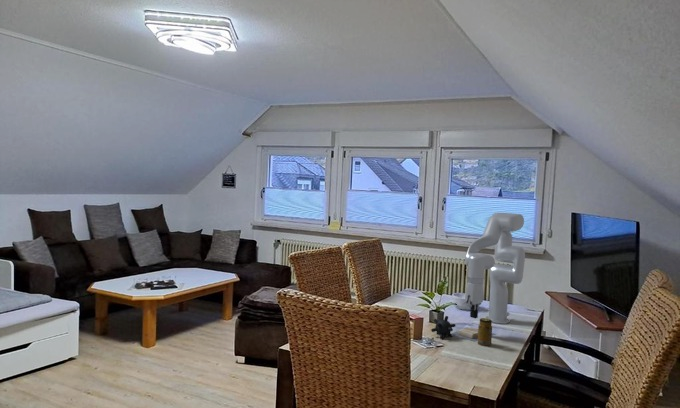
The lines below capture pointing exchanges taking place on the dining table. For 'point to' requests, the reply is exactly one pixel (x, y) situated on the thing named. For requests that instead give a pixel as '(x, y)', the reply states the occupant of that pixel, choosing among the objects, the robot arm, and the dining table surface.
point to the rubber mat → (467, 337)
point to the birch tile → (468, 332)
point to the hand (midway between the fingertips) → (473, 317)
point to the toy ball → (443, 327)
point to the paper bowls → (460, 301)
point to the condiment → (485, 332)
